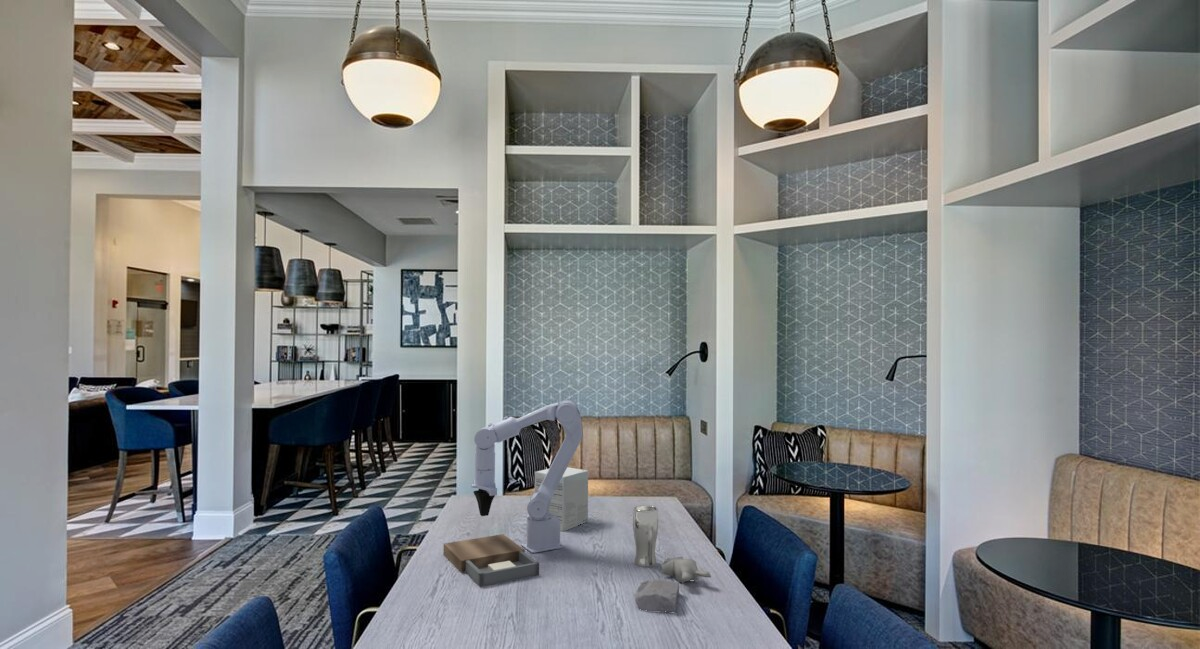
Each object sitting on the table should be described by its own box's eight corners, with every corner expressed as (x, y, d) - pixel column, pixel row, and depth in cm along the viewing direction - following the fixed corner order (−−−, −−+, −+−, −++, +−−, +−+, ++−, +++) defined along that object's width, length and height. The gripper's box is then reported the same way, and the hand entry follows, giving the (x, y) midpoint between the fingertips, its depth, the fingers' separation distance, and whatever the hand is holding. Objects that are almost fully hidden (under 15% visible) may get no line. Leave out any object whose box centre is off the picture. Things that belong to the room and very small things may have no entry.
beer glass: (661, 561, 170) (661, 506, 170) (652, 569, 163) (653, 512, 164) (638, 557, 172) (638, 503, 173) (628, 565, 166) (629, 509, 167)
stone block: (635, 619, 138) (679, 614, 136) (631, 597, 138) (675, 592, 137) (641, 600, 149) (681, 594, 148) (637, 580, 150) (678, 574, 148)
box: (522, 561, 168) (522, 550, 168) (539, 574, 159) (539, 563, 159) (465, 572, 160) (465, 560, 160) (479, 586, 151) (479, 574, 151)
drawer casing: (503, 544, 183) (503, 534, 183) (524, 560, 169) (524, 549, 169) (443, 554, 174) (443, 543, 174) (461, 572, 160) (461, 560, 160)
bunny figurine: (686, 552, 166) (714, 564, 152) (687, 572, 165) (715, 585, 151) (654, 556, 162) (680, 568, 148) (655, 576, 162) (681, 590, 148)
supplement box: (558, 515, 214) (559, 465, 215) (588, 522, 207) (589, 470, 207) (533, 524, 203) (533, 471, 204) (563, 531, 196) (564, 476, 196)
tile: (518, 567, 157) (518, 575, 157) (509, 560, 162) (509, 568, 162) (495, 571, 154) (495, 580, 154) (487, 564, 159) (487, 572, 159)
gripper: (463, 465, 185) (463, 511, 184) (480, 474, 172) (479, 523, 172) (486, 463, 188) (485, 508, 188) (504, 472, 176) (503, 519, 175)
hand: (484, 515), depth 180 cm, fingers closed
